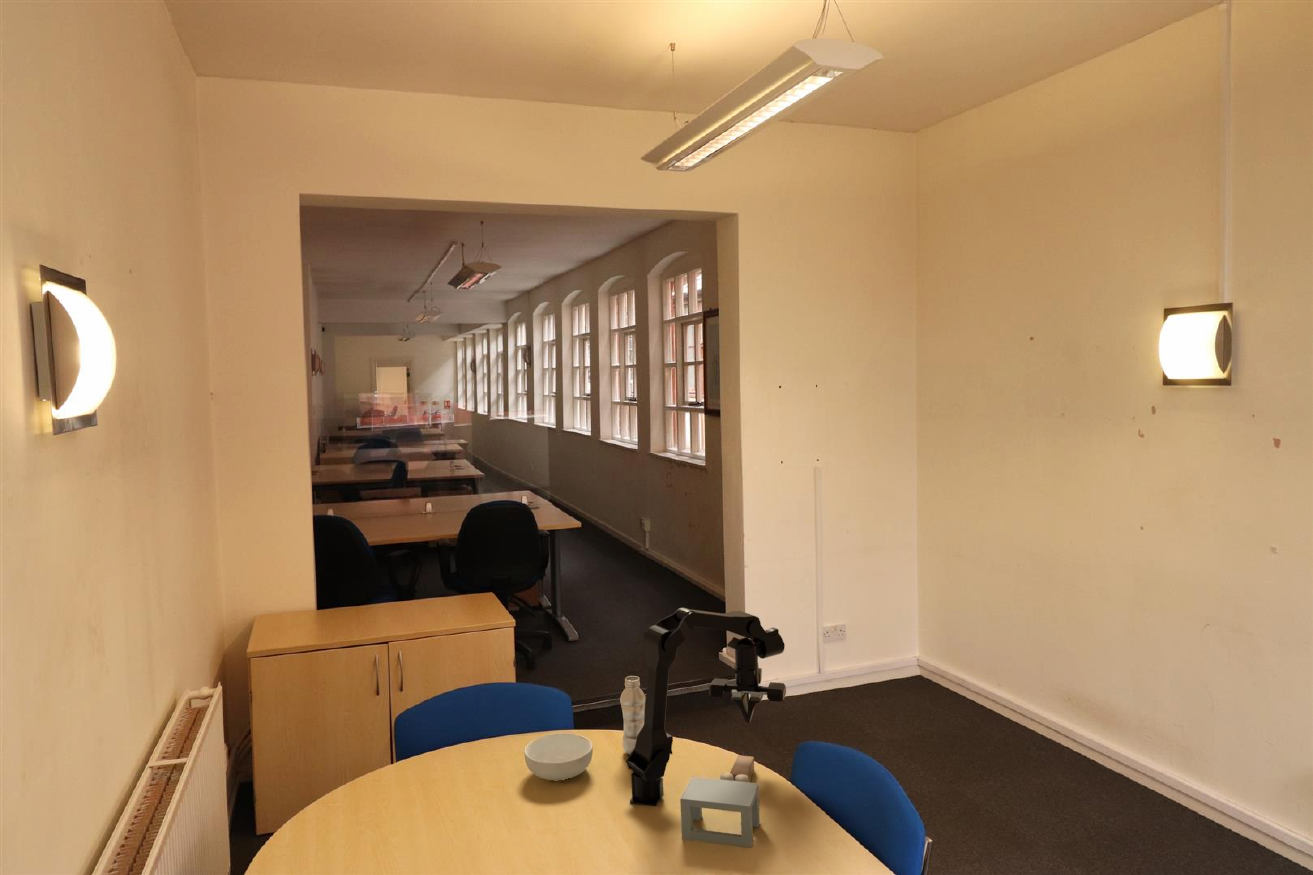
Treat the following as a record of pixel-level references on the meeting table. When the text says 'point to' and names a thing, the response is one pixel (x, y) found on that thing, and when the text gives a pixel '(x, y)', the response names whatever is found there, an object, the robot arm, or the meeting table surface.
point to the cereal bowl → (558, 755)
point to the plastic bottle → (632, 712)
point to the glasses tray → (740, 770)
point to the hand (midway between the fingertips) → (748, 722)
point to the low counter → (720, 798)
